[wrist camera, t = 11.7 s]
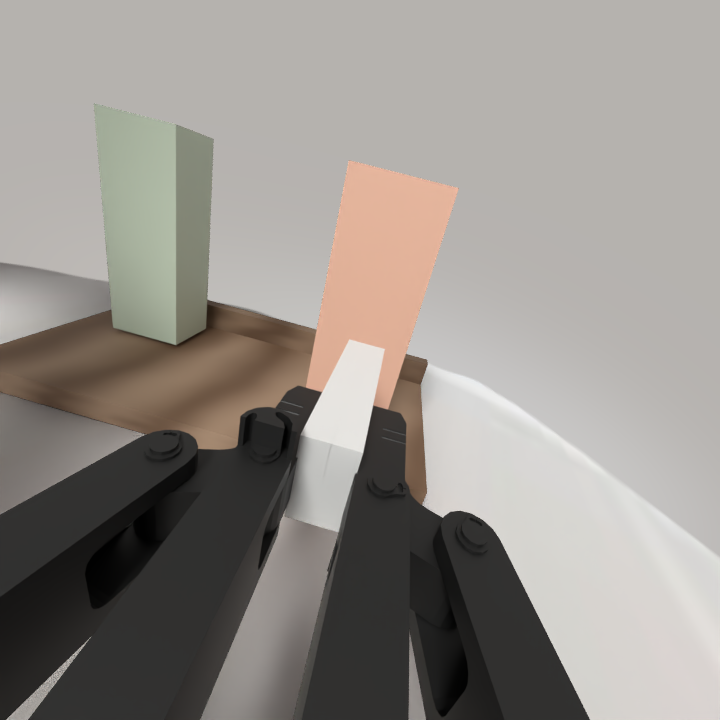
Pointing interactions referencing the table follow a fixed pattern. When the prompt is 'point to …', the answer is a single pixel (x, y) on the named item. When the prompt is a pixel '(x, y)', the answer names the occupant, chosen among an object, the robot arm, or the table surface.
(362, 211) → the salmon orange rectangular block
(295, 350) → the wooden board
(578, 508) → the table surface
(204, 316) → the pale green block
